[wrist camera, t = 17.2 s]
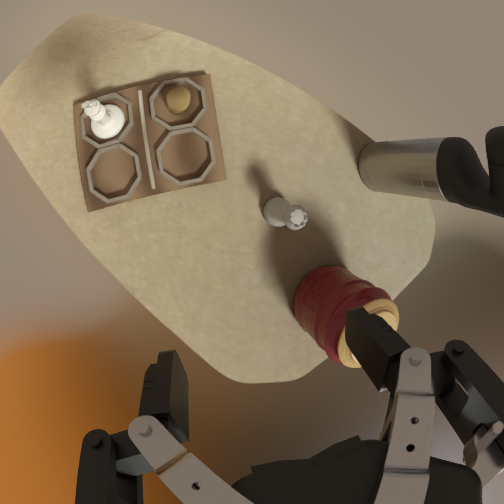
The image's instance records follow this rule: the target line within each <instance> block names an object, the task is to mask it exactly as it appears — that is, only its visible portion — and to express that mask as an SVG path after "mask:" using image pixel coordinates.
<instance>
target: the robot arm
mask: <svg viewBox="0 0 504 504" xmlns="http://www.w3.org/2000/svg"><path fill="white" fill-rule="evenodd" d="M485 142H486V153H487V159H488V168H489V176H488V174H487V173H486V171H485V170H484V168H483V166H482V164H481V162H480V160H479V158H478V156H477V154H476V151H475V150H474V148H473V146H472V145H471V144H470V143H469V142H468V141H467V140H465V139H463V138H460V137H448V138H426V139H411V140H398V141H386V142H375V143H370V144H368V145H367V146H365V147H364V149H363V150H362V152H361V154H360V157H359V172H360V176H361V178H362V180H363V182H364V184H365V185H366V186H367V187H368V188H369V189H370V190H373V191H376V192H384V193H391V194H399V195H406V196H413V197H420V198H427V199H433V200H440V201H446V202H452V203H457V204H460V205H462V206H464V207H467V208H472V209H476V210H480V211H484V212H487V213H491V214H494V215H497V216H500V217H503V218H504V126H499V127H495V128H493V129H491V130H489V131H488V132H487V134H486V139H485ZM345 341H346V344H347V346H348V348H349V349H350V351H351V352H352V354H353V355H354V356H355V358H356V359H357V361H358V362H359V364H360V365H361V366H362V368H363V369H364V371H365V372H366V374H367V375H368V377H369V378H370V379H371V381H372V382H373V384H374V385H375V387H376V388H377V390H378V391H379V392H382V391H384V390H386V389H388V391H389V392H390V394H389V398H388V403H387V409H386V413H385V418H384V423H383V427H382V431H381V434H380V437H379V440H360V438H359V436H358V435H357V436H354V437H352V438H349V439H347V440H344V441H342V442H339V443H336V444H334V445H332V446H330V447H329V448H327V449H325V450H323V451H322V452H320V453H319V454H317V455H315V456H313V457H311V458H309V459H302V460H284V461H275V462H271V463H266V464H261V465H256V466H251V469H252V473H250V474H247V475H246V476H244V477H242V478H240V479H239V480H237V481H236V482H235V483H234V484H233V485H232V486H229V485H228V484H227V483H225V482H224V481H223V480H222V479H220V478H219V477H218V476H217V475H216V474H214V473H213V472H212V471H211V470H210V469H209V468H207V467H206V466H205V465H204V464H203V463H201V461H200V460H198V459H197V458H196V457H195V456H194V455H193V454H192V453H191V452H189V451H187V450H186V449H185V448H184V447H183V446H182V442H189V411H188V379H187V375H186V372H185V370H184V367H183V365H182V363H181V361H180V358H179V356H178V354H177V352H176V350H170V351H163V352H159V355H158V361H157V364H151V365H150V366H149V368H148V369H147V371H146V373H145V377H144V383H143V390H142V395H141V402H140V408H139V415H138V418H136V419H134V420H133V421H132V422H131V423H130V425H129V428H128V429H127V430H125V431H122V432H119V433H115V434H112V435H109V434H108V433H107V432H106V431H104V430H101V429H96V430H92V431H90V432H89V433H87V434H86V436H85V437H84V439H83V442H82V448H81V455H80V461H79V468H78V477H77V486H76V498H75V504H143V484H142V483H143V482H142V474H145V473H148V472H152V471H155V470H156V474H157V475H158V476H159V478H160V479H161V480H162V481H163V482H164V483H165V484H166V485H167V486H168V488H169V489H170V490H171V491H172V492H173V493H174V494H175V495H176V496H177V497H178V498H179V499H180V500H181V501H182V502H183V503H184V504H482V487H483V486H484V485H485V484H487V483H488V482H489V481H490V480H491V479H492V478H494V477H495V476H496V475H498V474H499V473H500V472H502V471H503V470H504V383H503V382H502V381H501V379H500V378H499V377H498V376H497V375H496V374H495V373H494V372H493V370H492V369H491V368H490V367H489V366H488V365H487V364H486V363H485V362H484V361H483V360H482V359H481V358H480V357H479V356H478V354H477V353H476V352H475V351H474V350H473V349H472V348H471V347H470V346H469V345H468V344H467V343H465V342H463V341H461V340H451V341H449V342H448V343H447V344H446V346H445V348H444V351H440V352H435V353H430V354H428V352H426V351H425V350H423V349H421V348H411V347H410V346H409V345H408V344H407V343H406V342H405V340H404V339H403V338H402V337H401V336H400V335H399V334H398V333H397V332H396V331H395V330H393V328H392V327H391V326H390V325H389V324H388V323H387V322H386V321H385V320H384V319H383V318H382V317H380V316H378V315H376V314H374V313H372V314H369V313H368V312H367V311H366V309H365V308H364V307H362V306H361V307H357V308H354V309H351V310H348V311H347V312H346V323H345ZM458 381H459V382H460V384H461V385H462V386H463V387H464V389H465V390H466V391H467V393H468V395H467V394H466V393H465V392H464V390H463V389H462V388H461V387H460V385H459V384H458V383H457V382H458ZM435 402H436V404H437V405H438V407H439V408H440V410H441V411H442V412H443V414H444V415H445V417H446V418H447V420H448V421H449V423H450V424H451V426H452V427H453V429H454V430H455V432H456V433H457V435H458V437H459V438H460V440H461V441H462V443H463V444H464V450H463V462H464V463H465V464H466V465H462V464H457V463H453V462H449V461H446V460H442V459H438V458H435V457H431V456H430V453H431V446H432V437H433V426H434V410H435Z"/></svg>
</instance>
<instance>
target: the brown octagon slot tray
mask: <svg viewBox="0 0 504 504" xmlns="http://www.w3.org/2000/svg"><path fill="white" fill-rule="evenodd" d="M93 99H96V100H98V101H99V102H100V104H102V105H109V104H111V105H116V106H118V107H119V108H121V109H122V111H123V113H124V116H125V121H124V125H123V127H122V129H121V130H120V132H119V133H118V134H117V135H115V136H114V137H111V138H108V139H102V138H99V137H97V136H96V135H95V134H94V133H93V131H92V129H91V120H92V119H91V118H90V116H87V115H86V114H85V112H84V108H82V107H81V106H82V103H85V101H84V102H81V103H78V104H76V105H74V118H75V131H76V141H77V150H78V158H79V166H80V172H81V178H82V184H83V190H84V195H85V200H86V205H87V210H88V212H91V211H95V210H98V209H102V208H105V207H109V206H113V205H116V204H120V203H124V202H127V201H131V200H135V199H139V198H143V197H147V196H152V195H156V194H160V193H164V192H169V191H173V190H178V189H183V188H187V187H192V186H197V185H202V184H207V183H212V182H218V181H223V180H227V178H226V172H225V166H224V160H223V153H222V147H221V141H220V135H219V129H218V122H217V116H216V110H215V103H214V97H213V90H212V84H211V77H210V74H205V75H196V76H189V77H182V78H176V79H170V80H164V81H159V82H154V83H149V84H145V85H140V86H136V87H132V88H128V89H124V90H120V91H116V92H113V93H109V94H106V95H103V96H99V97H96V98H93ZM93 99H90V100H93ZM90 100H87V101H90Z"/></svg>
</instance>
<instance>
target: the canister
mask: <svg viewBox="0 0 504 504" xmlns="http://www.w3.org/2000/svg"><path fill="white" fill-rule="evenodd" d="M361 306H362V307H364V308H365V309H366V311H367V312H368V313H369V314H372V313H374V314H376V315H378V316H380V317H382V318H383V319H384V320H385V321H386V322H387V323H388V324H389V325H390V326H391V327H392V328H393V330H395V331H396V330H397V327H398V322H399V313H398V309H397V307H396V305H395V304H394V303H393V302H392V300H391V298H390V296H389V294H388V293H387V292H386V291H385V290H383V289H381V288H378V287H375V286H374V285H373V284H372V283H370V282H368V281H366V280H362V279H361V278H359V277H357V276H355V275H353V274H352V273H351V272H350V271H348V270H346V269H344V268H342V267H337V266H324V267H320V268H318V269H316V270H314V271H313V272H311V273H310V274H309V275H307V276H306V277H305V278H304V280H303V281H302V282H301V283H300V285H299V287H298V289H297V291H296V293H295V296H294V301H293V310H294V315H295V317H296V319H297V322H298V323H299V325H300V326H301V327H302V328H303V329H304V330H305V331H306V332H308V333H309V334H310V336H311V337H312V338H313V339H314V340H315V341H316V343H317V344H318V346H319V347H320V348H321V349H323V350H324V351H325V352H326V354H327V355H328V357H329V358H330V359H331V360H332V361H334V362H336V363H340V364H344V365H345V366H347V367H351V368H357V367H362V366H361V365H360V364H359V362H358V361H357V359H356V358H355V356H354V355H353V354H352V352H351V351H350V349H349V348H348V346H347V344H346V341H345V323H346V312H347V311H348V310H351V309H354V308H357V307H361Z"/></svg>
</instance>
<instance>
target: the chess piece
mask: <svg viewBox="0 0 504 504" xmlns="http://www.w3.org/2000/svg"><path fill="white" fill-rule="evenodd" d="M81 107H82V108H84V112H85V114H86V115H87V116H90V118H91V119H92V120H91V129H92V131H93V133H94V134H95V135H96V136H97V137H99V138H102V139H108V138H111V137H114V136H115V135H117V134H118V133H119V132H120V130H121V129H122V127H123V125H124V121H125V116H124V113H123V111H122V109H121V108H119V107H118V106H116V105H111V104H109V105H102V104H100V102H99V101H98V100H96V99H93V100H90V101H85V103H82V106H81Z"/></svg>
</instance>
